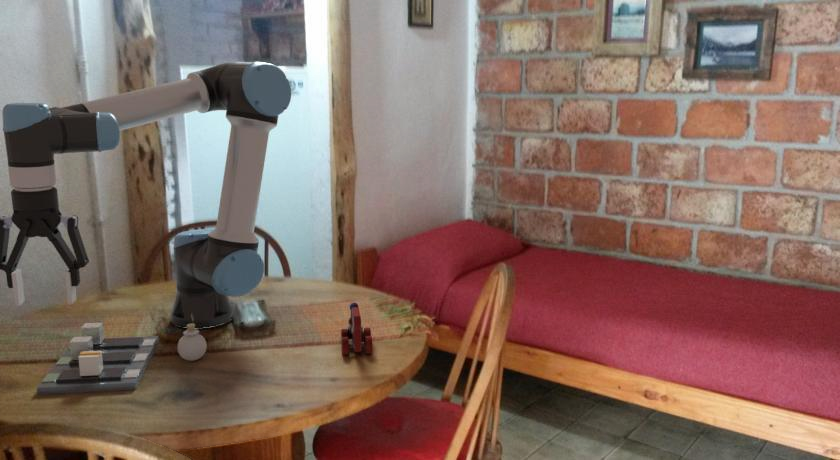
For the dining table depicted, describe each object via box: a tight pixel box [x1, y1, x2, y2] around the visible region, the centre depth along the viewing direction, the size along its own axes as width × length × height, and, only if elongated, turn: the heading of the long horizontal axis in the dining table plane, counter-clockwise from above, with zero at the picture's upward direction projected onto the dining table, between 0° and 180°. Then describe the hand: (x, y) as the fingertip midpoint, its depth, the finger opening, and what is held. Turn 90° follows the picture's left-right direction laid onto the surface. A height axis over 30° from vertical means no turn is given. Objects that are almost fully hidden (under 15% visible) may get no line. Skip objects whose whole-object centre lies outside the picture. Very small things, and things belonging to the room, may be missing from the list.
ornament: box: [177, 313, 208, 362], centre depth 148 cm, size 6×7×10 cm
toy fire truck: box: [340, 302, 374, 356], centre depth 155 cm, size 7×12×10 cm, turn 8°
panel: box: [36, 322, 160, 396], centre depth 143 cm, size 18×24×6 cm
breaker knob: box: [78, 351, 103, 376], centre depth 135 cm, size 4×3×4 cm
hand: (46, 302), depth 131 cm, fingers open, 9 cm apart
